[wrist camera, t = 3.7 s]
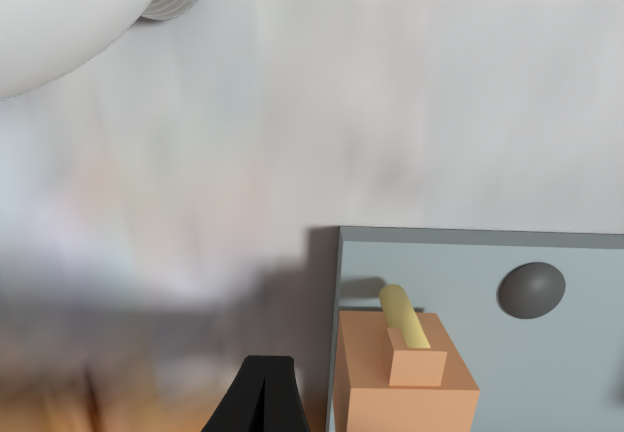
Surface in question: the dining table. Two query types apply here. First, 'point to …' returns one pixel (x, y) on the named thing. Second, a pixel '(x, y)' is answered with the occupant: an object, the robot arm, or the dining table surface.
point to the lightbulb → (65, 35)
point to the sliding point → (399, 372)
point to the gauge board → (506, 316)
